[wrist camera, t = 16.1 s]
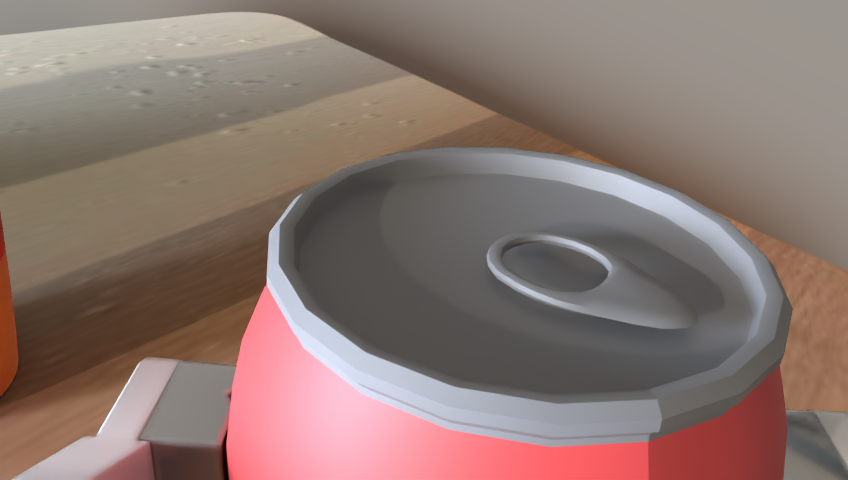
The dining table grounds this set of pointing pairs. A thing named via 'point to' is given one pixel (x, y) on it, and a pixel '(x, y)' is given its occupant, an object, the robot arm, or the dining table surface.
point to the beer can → (509, 329)
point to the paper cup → (6, 323)
